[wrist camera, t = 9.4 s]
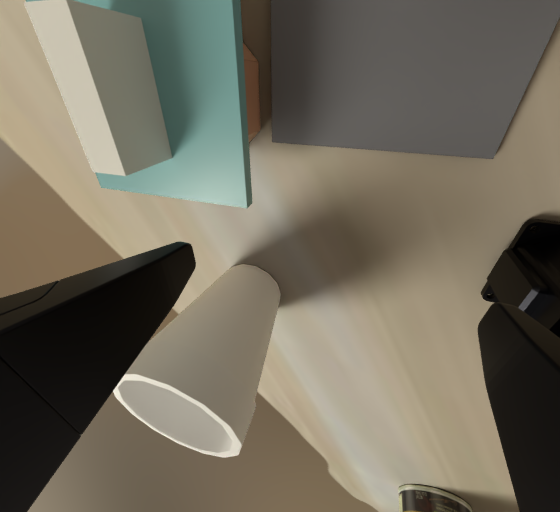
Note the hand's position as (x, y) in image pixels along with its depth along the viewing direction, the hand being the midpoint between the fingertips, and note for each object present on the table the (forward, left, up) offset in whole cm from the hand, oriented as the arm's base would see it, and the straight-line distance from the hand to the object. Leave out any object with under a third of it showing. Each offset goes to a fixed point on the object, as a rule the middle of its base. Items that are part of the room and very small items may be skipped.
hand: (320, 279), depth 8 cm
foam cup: (+8, +13, -12) cm, 20 cm away
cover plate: (+11, -4, -8) cm, 14 cm away
